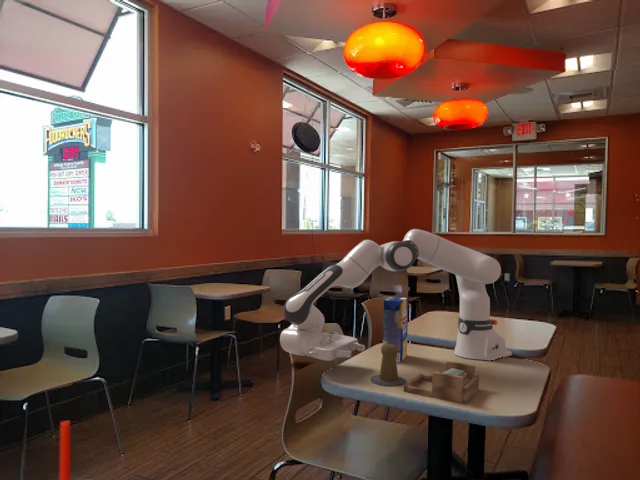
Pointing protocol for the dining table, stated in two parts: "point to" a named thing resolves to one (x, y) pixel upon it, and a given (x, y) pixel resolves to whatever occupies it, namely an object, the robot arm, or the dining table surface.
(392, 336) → the beverage box
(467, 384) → the rack
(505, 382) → the dining table surface
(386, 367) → the cork
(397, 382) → the coaster
